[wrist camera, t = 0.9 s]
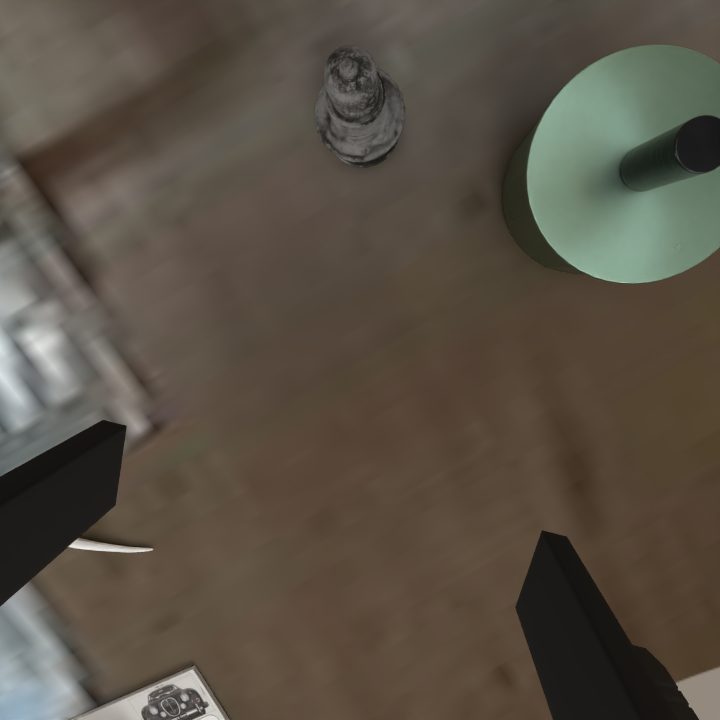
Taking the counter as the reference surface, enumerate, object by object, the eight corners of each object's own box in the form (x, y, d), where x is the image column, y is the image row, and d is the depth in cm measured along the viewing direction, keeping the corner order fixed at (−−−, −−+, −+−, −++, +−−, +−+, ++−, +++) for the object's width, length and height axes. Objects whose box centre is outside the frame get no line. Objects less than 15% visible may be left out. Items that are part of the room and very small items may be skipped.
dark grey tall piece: (354, 188, 37) (335, 152, 25) (305, 120, 36) (262, 50, 25) (420, 136, 36) (432, 73, 24) (371, 66, 35) (359, -35, 24)
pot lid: (510, 78, 28) (544, 20, 21) (744, 31, 27) (856, -45, 20) (533, 298, 30) (571, 307, 23) (752, 263, 29) (857, 263, 22)
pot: (493, 125, 36) (523, 82, 27) (659, 93, 35) (742, 38, 26) (511, 284, 37) (544, 289, 29) (669, 258, 36) (750, 256, 28)
